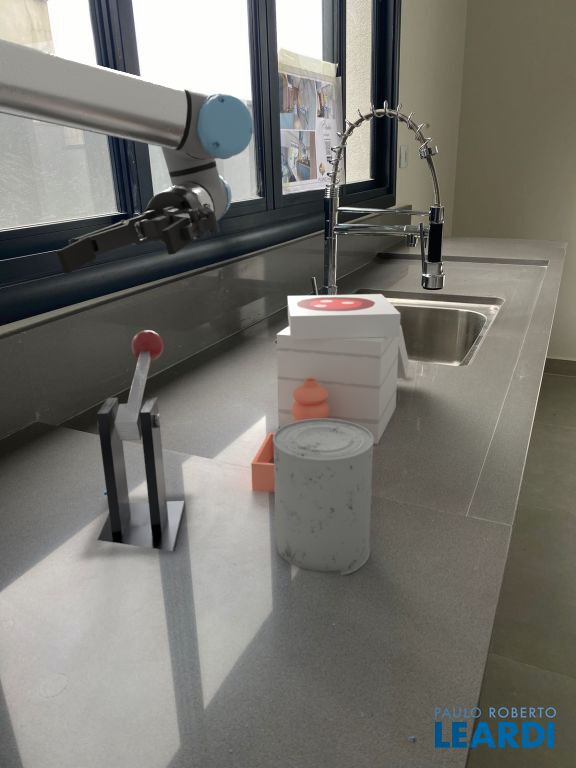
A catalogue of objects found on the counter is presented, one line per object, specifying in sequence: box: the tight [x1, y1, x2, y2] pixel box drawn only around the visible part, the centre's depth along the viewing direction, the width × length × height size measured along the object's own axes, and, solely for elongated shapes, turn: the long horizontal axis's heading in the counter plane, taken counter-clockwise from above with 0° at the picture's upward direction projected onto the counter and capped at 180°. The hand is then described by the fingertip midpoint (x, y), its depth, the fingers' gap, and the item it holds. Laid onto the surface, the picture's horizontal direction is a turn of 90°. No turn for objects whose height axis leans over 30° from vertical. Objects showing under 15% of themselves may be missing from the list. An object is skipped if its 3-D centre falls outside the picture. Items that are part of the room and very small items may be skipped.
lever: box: [114, 329, 164, 442], centre depth 65 cm, size 16×4×4 cm, turn 2°
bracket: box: [96, 396, 186, 552], centre depth 61 cm, size 10×8×15 cm
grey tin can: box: [273, 418, 375, 577], centre depth 59 cm, size 10×10×12 cm
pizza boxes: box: [276, 293, 410, 445], centre depth 96 cm, size 19×30×18 cm, turn 161°
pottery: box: [250, 378, 330, 493], centre depth 77 cm, size 18×10×10 cm, turn 169°
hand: (114, 252), depth 69 cm, fingers open, 13 cm apart
